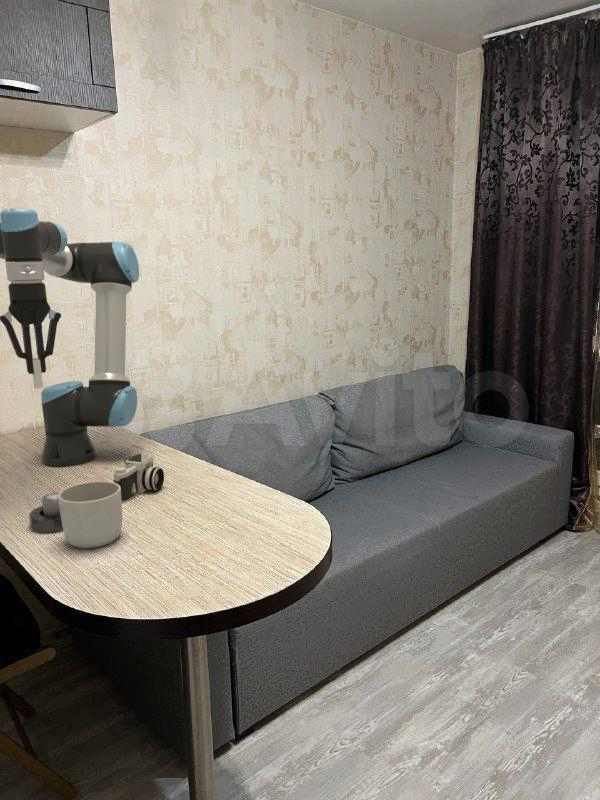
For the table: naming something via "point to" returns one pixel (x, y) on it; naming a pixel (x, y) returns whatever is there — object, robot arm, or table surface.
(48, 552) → the table surface
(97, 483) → the planter
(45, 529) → the grey ring
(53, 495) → the cap
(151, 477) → the camera
